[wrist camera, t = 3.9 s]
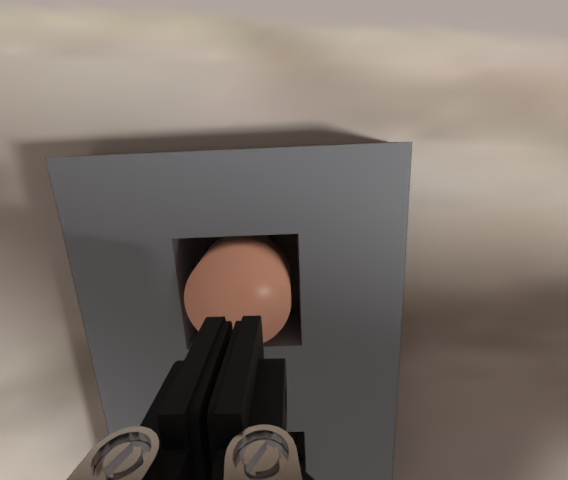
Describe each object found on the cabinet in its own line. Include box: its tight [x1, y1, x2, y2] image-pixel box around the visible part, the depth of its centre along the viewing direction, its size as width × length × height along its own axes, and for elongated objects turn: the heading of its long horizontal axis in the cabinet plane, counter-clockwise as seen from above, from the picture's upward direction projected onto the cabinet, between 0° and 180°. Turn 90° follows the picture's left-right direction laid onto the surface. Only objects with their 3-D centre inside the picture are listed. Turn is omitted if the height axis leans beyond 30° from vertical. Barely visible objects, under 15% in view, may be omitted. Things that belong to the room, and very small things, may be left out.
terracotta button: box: [184, 235, 291, 343], centre depth 15 cm, size 4×4×3 cm
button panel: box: [46, 142, 412, 480], centre depth 19 cm, size 14×32×3 cm, turn 2°
